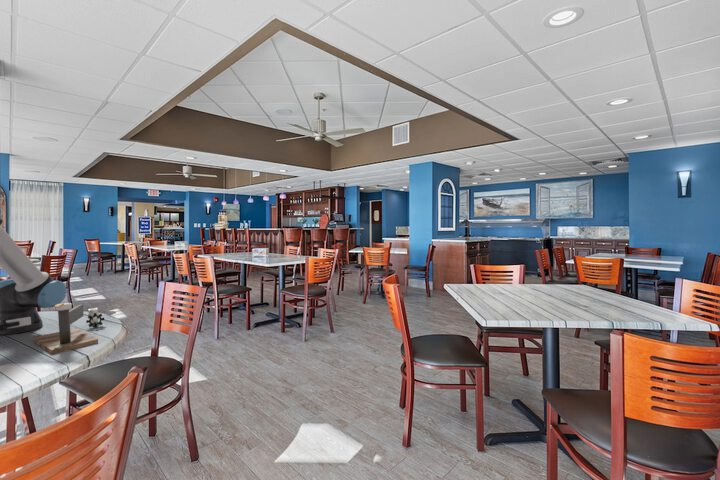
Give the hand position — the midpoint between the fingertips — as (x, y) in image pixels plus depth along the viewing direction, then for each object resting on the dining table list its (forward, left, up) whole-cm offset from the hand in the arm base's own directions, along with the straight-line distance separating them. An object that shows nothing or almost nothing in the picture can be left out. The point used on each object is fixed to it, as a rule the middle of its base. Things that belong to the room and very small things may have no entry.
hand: (30, 320), depth 130 cm
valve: (-13, +24, -10) cm, 29 cm away
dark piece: (+7, +10, -8) cm, 15 cm away
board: (+5, +9, -10) cm, 14 cm away
